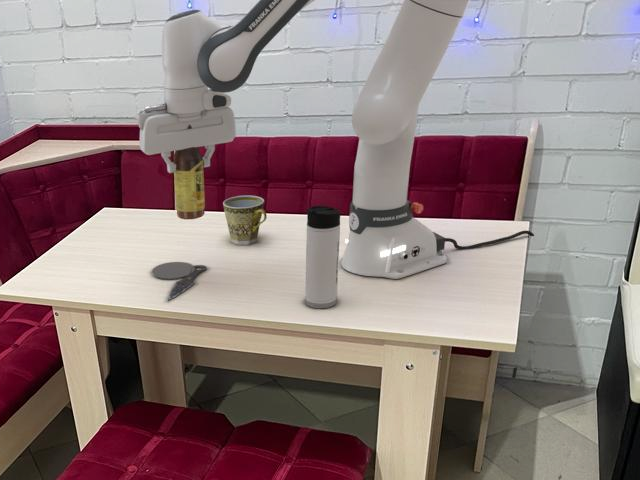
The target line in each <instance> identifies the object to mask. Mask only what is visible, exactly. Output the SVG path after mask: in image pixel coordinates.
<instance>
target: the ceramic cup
mask: <svg viewBox="0 0 640 480" xmlns="http://www.w3.org/2000/svg"><path fill="white" fill-rule="evenodd" d="M222 206H223V211H224V215H225V216H224V217H225V219H226V224H227V228H228V233H229V239H230V242H231V243H232V244H235V245H238V246H248V245H252V244H255V243H257V242H258V237H259V230H260V226H261V224H263V223H264V222H265V221H266V220H267V212H266V210H265V209H264V207H265V199H264V198H263V197H261V196H256V195H237V196H232V197H229V198H227V199H225V200H224V201H223V202H222ZM262 216H263V220H261V219H262Z"/></svg>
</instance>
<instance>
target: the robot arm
mask: <svg viewBox="0 0 640 480" xmlns="http://www.w3.org/2000/svg"><path fill="white" fill-rule="evenodd" d="M315 1H316V0H259V1H257V3H255V5H254V6H253V7H252V8H250V10H249V11H248V12H247V13H246V14H245V16H243V18H242V19H241V20H240V21H238V22H237V23H236V24H235V25H231V24H227V23H223V22H221V21H219V20H216V19H214V18H212V17H210V16H208V15H207V14H206V13H204V12H203V11H202V10H201V9H192V10H186V11H183V12H180V13H179V12H178V13H176V14H173V15H172V16H170V17H169V18H168V19H166V21H165V22H164V24H163V25H162V29H161V30H162V31H161V64H162V68H163V72H164V80H163V100H164V102H163V103H161V104H155V105H147V106H144V107H143V109H141V110H140V111H139V113H138V114H137V124H138V128H139V150H140V151H141V152H142V153H144V154H145V155H147V156H152V155H157V154H160V155H161V158H162V159H163V160H164V162H165V164H166V169H167V173H168V174H174V172H176V171H177V169H176V164H175V163H174V161H171V160H170V158H171V156H172V153H171V152H175V151H177V150H183V149H186V148H191V147H198V148H201V147H204V149H206V152H205V153H204V155H203V156H202V158H203V169H204V168H209V167H211V159H212V156H213V154H214V152H215V150H216V145H220V144H226V143H231V142H233V141H234V139H235V137H236V135H237V134H236V133H237V131H236V130H237V129H236V118H235V113H234V111H233V109H232V108H231V107H230V106H231V105H232V97H231V96H230V95H229V94H227V93H231V92H234V91H236V90H238V89H239V88H241V87H242V86H243V85H244V84H245V83H246V82H247V80H248V79H249V77H250V75H251V73H252V71H253V68H254V65H255V63H256V61H257V58H258V56H259V55H260V54H261V52H262V51H263V50H264V49H265V48H266V46H267V45H268V44H269V43H270V42H271V41H272V40H273V39H274V38H275V37H276V36H277V35H278V34H279V33H280V32H281V31H282V30H283V28H284V27H285V26H287V24H289V22H290V21H292V19H293V18H294V17H295V16H297V14H298V13H300V12H301V11H302V10H304V9H306V7H307V6H309V5H311V4H312V3H313V2H315ZM470 3H471V0H403V2H402V4H401V7H400V9H399V11H398V13H397V16H396V18H395V20H394V22H393V24H392V27H391V29H390V31H389V34H388V35H387V38H386V40H385V42H384V44H383V45H382V48H381V49H380V52H379V54H378V56H377V58H376V60H375V62H374V63H373V66H372V68H371V70H370V72H369V74H368V75H367V78H366V80H365V82H364V84H363V87H362V88H361V91H360V93H359V94H358V97H357V98H356V101H355V103H354V105H353V108H352V115H351V124H352V129H353V131H354V133H355V135H356V137H358V145H357V151H356V156H355V162H354V166H353V167H354V169H353V182H352V183H353V185H352V199H351V201H350V204H349V215H348V217H349V218H348V226H349V232H348V238H347V239H345V241H344V243H345V244H346V248H345V251H344V254H343V257H342V260H341V263H340V265H341V268H343V269H344V270H346V271H347V272H349V273H352V274H355V275H359V276H366V277H377V278H386V279H387V278H388V279H392V280H399V279H403V278H406V277H409V276H411V275H414V274H418V273H420V272H423V271H424V272H425V271H426V270H429V269H432V268H435V267H438V266H441V265H444V264H446V263H448V261H447V260H448V259H447V256H446V254H445V253H444V252H443V250H445V245H446V243H447V242H449V243H451V244H453V247H454V248H455V249H457V250H471V249H472V250H473V249H476V248H480V247H484V246H489V245H494V244H498V243H501V242H505V241H509V240H510V241H511V240H512V239H515V238H518V237H520V236H523V235H528V236H529V237H535V234H534V233H533V232H532V231H531V230H521V231H518V232H515V233H514V234H511V235H508V236H504V237H500V238H496V239H492V240H488V241H482V242H479V243H475V244H470V245H466V246H465V245H464V246H463V245H459V244H458V242H457V240H456V239H454V238H450V237H444V236H443V235H441V234H439V233H437V232H434V231H432V229H430V227H429V228H428V227H427V226H426V225H425V224H424V223H422V222H421V221H419V220H418V219H417V218H415V217H414V215H413V212H414V213H416V214H417V215H418V214H421V213H422V212H423V211H424V205H423V204H422V203H419V202H416V201H415V202H413V203H412V201H410V200H408V190H409V181H410V180H409V179H410V171H411V169H410V168H411V161H412V156H413V150H414V149H413V148H414V144H415V135H416V128H417V121H418V114H419V105H420V103H421V101H422V98H423V97H424V95H425V93H426V91H427V89H428V87H429V85H430V84H431V82H432V79H433V77H434V76H435V74H436V71H437V70H438V67H439V66H440V63H441V62H442V60H443V58H444V56H445V54H446V52H447V50H448V48H449V47H450V44H451V41H452V40H453V38H454V36H455V34H456V32H457V30H458V27H459V26H460V24H461V22H462V20H463V17H464V16H465V14H466V11H467V9H468V7H469V5H470ZM188 125H191V126H192V129H187V128H188ZM512 369H513V370H512V376H511V378H512V379H516V377H517V372H518V371H517V370H518V366H515V367H513V368H512Z"/></svg>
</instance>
